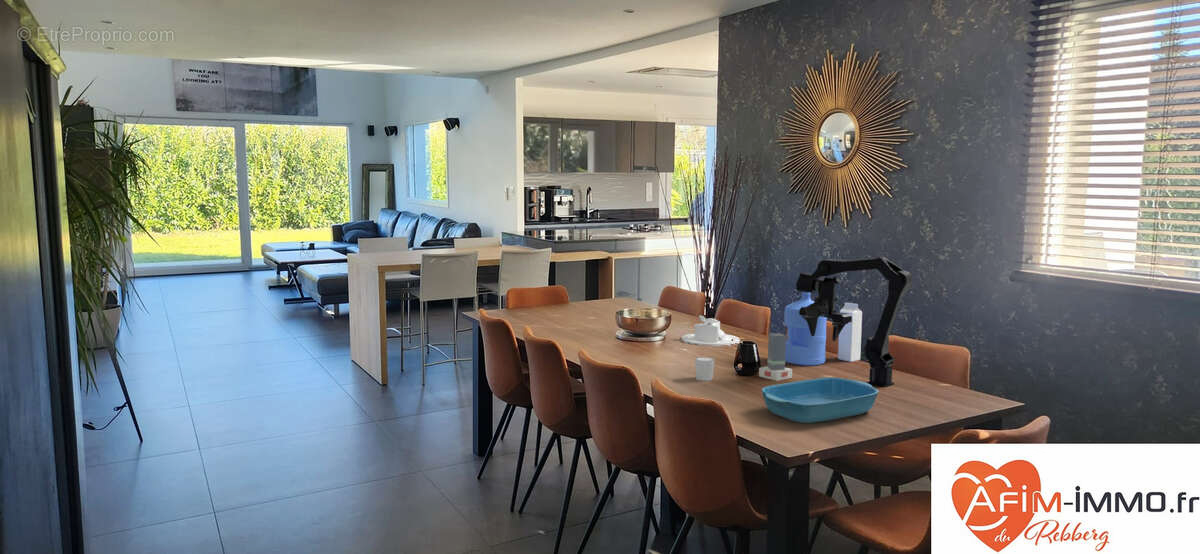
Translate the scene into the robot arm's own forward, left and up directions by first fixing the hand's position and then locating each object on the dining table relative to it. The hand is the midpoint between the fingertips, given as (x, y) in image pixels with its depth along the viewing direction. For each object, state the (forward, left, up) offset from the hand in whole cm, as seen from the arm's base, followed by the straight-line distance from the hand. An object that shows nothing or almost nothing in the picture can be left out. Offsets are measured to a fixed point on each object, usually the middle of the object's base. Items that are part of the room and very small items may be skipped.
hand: (823, 338), depth 286 cm
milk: (+10, -29, -13) cm, 34 cm away
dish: (+69, -13, -14) cm, 72 cm away
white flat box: (+8, +16, -13) cm, 22 cm away
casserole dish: (-29, +39, -14) cm, 50 cm away
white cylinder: (+21, +38, -13) cm, 45 cm away
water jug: (+18, -12, -13) cm, 26 cm away
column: (+8, +15, -10) cm, 20 cm away
